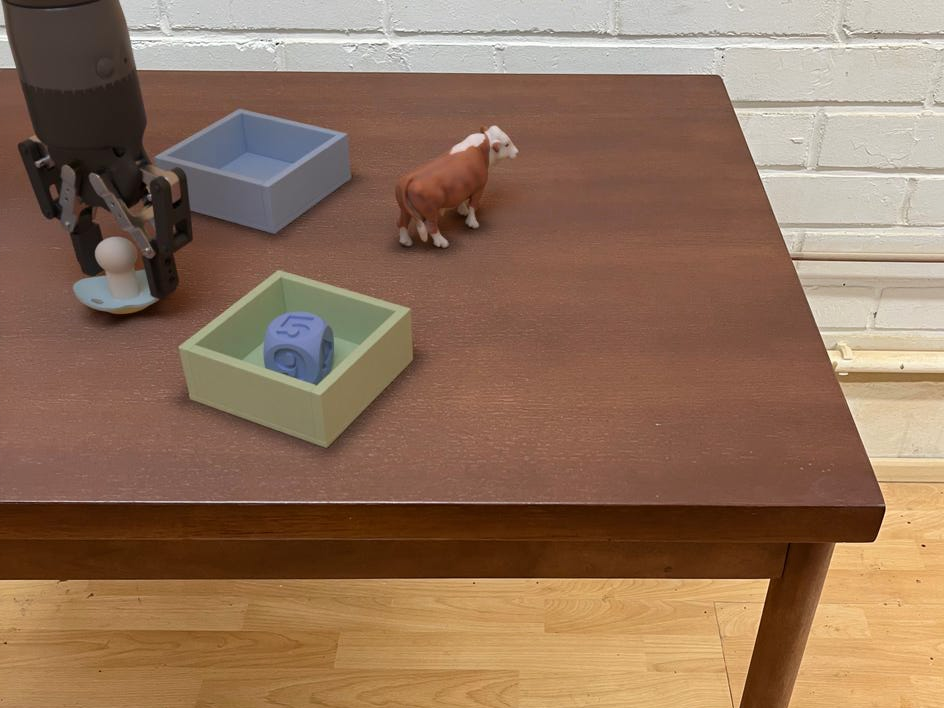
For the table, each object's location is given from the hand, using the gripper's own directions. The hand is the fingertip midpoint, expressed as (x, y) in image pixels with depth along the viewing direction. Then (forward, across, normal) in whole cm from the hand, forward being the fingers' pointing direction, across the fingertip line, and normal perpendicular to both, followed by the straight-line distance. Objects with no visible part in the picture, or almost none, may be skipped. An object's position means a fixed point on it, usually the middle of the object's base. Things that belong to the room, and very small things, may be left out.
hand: (130, 281), depth 78 cm
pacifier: (+2, +1, 0) cm, 2 cm away
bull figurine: (+2, -16, -24) cm, 29 cm away
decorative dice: (+2, -17, +1) cm, 17 cm away
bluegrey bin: (+2, +4, -21) cm, 22 cm away
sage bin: (+2, -17, +1) cm, 17 cm away
